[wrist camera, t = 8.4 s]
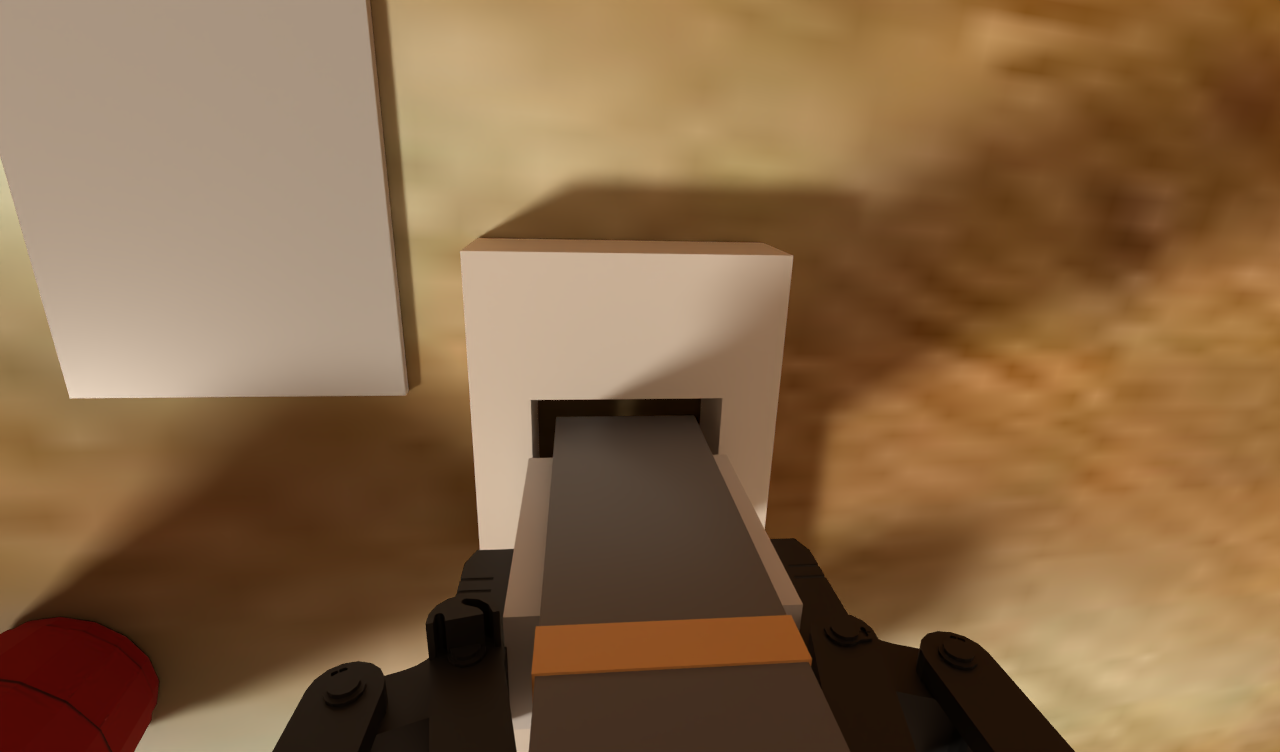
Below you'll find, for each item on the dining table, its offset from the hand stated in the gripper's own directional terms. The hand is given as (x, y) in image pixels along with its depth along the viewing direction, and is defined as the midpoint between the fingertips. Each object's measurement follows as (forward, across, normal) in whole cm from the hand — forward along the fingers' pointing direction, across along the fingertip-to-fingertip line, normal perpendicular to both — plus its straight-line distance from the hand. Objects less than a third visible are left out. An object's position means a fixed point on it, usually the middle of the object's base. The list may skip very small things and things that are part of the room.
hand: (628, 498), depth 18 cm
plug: (+1, 0, 0) cm, 1 cm away
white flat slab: (+4, -12, +8) cm, 15 cm away
